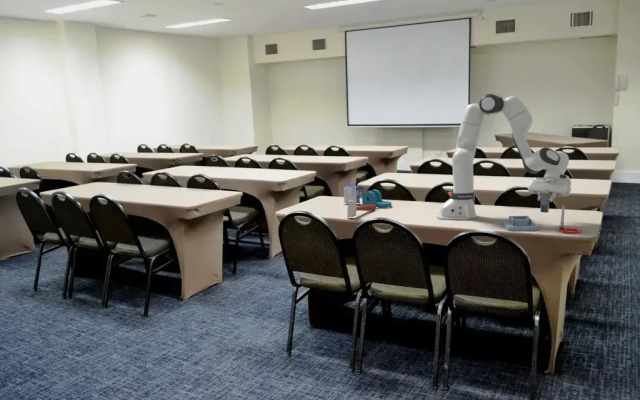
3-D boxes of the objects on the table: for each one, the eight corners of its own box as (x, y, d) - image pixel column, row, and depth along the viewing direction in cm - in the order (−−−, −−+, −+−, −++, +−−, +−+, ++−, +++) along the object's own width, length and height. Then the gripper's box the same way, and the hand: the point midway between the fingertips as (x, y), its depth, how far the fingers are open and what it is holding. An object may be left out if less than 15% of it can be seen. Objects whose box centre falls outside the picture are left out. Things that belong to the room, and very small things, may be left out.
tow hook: (579, 230, 251) (558, 229, 253) (581, 204, 248) (560, 203, 251) (582, 235, 243) (560, 233, 246) (584, 208, 240) (562, 207, 243)
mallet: (372, 199, 328) (347, 200, 304) (377, 200, 326) (352, 200, 302) (371, 216, 329) (346, 218, 304) (376, 216, 327) (351, 218, 302)
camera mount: (362, 207, 338) (361, 191, 336) (369, 204, 347) (369, 189, 345) (387, 209, 328) (386, 192, 327) (394, 206, 337) (393, 190, 335)
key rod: (541, 212, 260) (542, 191, 258) (539, 211, 264) (540, 189, 262) (549, 212, 260) (550, 191, 258) (547, 211, 263) (548, 189, 262)
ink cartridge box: (360, 203, 350) (359, 182, 348) (356, 205, 346) (355, 184, 343) (348, 203, 356) (347, 182, 353) (343, 204, 351) (343, 183, 349)
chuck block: (508, 230, 256) (508, 220, 255) (503, 224, 269) (503, 215, 269) (537, 230, 253) (538, 220, 252) (531, 224, 267) (531, 214, 266)
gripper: (531, 174, 271) (522, 194, 266) (571, 176, 257) (563, 198, 251) (534, 181, 275) (525, 202, 270) (574, 184, 260) (566, 206, 255)
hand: (544, 200), depth 260 cm, fingers closed on key rod, 4 cm apart
